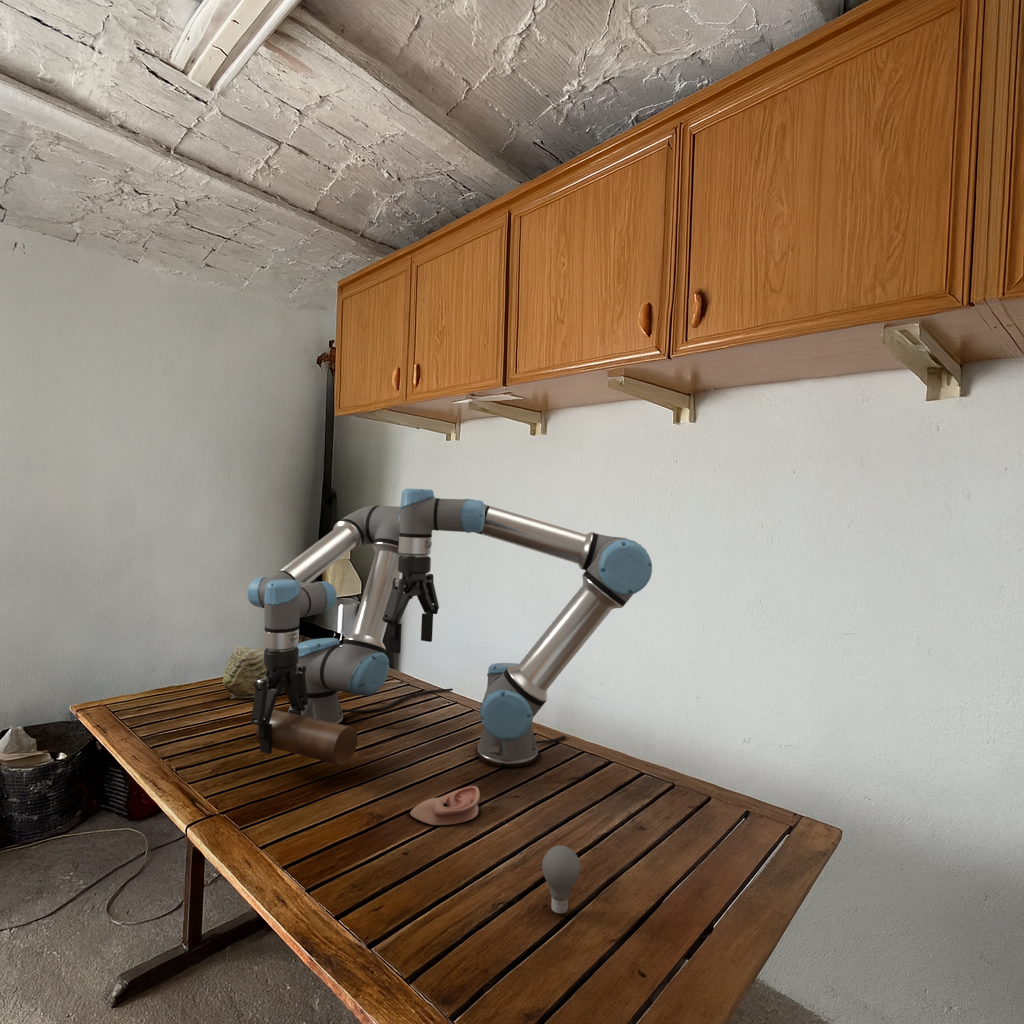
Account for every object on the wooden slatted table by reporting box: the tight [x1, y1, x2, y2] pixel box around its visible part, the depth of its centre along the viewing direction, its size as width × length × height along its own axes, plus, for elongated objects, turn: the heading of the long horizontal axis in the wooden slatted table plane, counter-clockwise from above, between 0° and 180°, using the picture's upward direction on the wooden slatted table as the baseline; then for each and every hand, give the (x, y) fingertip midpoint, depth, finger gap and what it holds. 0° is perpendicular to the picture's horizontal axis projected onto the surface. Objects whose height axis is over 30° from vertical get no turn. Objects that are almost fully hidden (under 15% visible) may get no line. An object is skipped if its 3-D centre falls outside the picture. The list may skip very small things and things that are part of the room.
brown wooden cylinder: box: [255, 708, 358, 766], centre depth 143 cm, size 22×8×8 cm, turn 66°
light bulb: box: [541, 844, 581, 914], centre depth 99 cm, size 6×6×10 cm
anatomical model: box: [409, 785, 481, 826], centre depth 129 cm, size 13×4×12 cm
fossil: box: [222, 646, 286, 699], centre depth 198 cm, size 9×18×15 cm, turn 132°
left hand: (280, 744), depth 146 cm, fingers closed on brown wooden cylinder, 8 cm apart
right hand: (411, 646), depth 147 cm, fingers open, 13 cm apart
